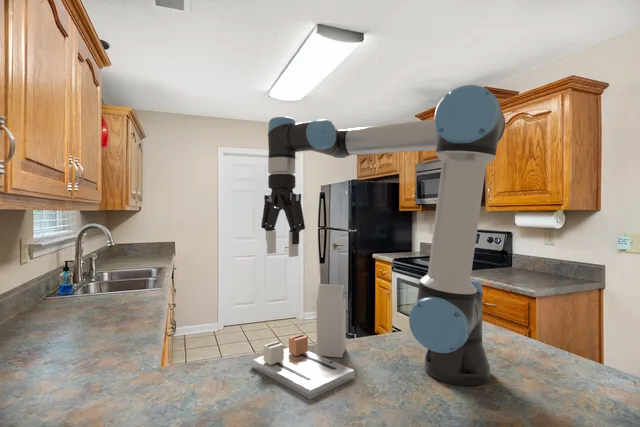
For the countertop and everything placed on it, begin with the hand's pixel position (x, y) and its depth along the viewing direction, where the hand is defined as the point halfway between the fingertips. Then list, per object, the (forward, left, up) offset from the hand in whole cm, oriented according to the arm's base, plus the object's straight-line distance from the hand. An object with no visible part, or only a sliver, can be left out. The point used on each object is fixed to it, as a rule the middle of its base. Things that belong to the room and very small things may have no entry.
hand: (282, 254), depth 101 cm
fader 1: (-7, +8, -25) cm, 27 cm away
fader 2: (-7, 0, -25) cm, 26 cm away
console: (-13, +4, -28) cm, 31 cm away
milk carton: (-9, -10, -28) cm, 31 cm away
